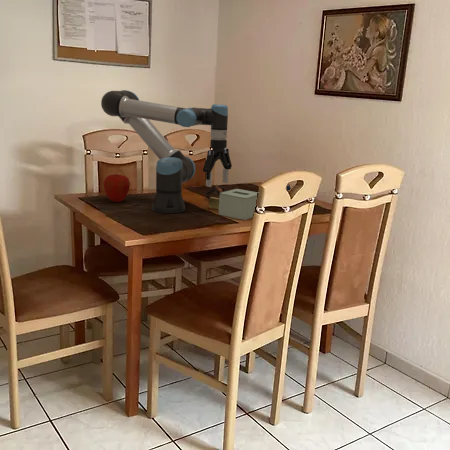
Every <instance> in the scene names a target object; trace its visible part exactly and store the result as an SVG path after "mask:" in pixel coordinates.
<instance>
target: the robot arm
mask: <svg viewBox="0 0 450 450" xmlns="http://www.w3.org/2000/svg"><path fill="white" fill-rule="evenodd" d="M100 103H101V104H100V105H101V109H102V110H103V112H104V113H105V114H106V115H108V116H110V117H118V118H119V119H120V120H121V122H123V123H124V124H126V125H129V126H130V127H131V128H132V129H133V130H134V131H135V133H136V134H137V135H138V137H140V139H141V140H142V141H143V142H144V143H145V144H146V146H147V147H148V148H149V149H150V150H151V151H152V152H153V153H154V155H155V156H156V157H157V158H158V160H157V162H156V165H155V166H156V167H155V171H156V172H155V195H154V198H153V202H152V204H151V210H152V211H154V212H156V213H159V214H179V213H182V212H185V210H186V205H185V202H184V197H183V194H182V192H183V191H182V189H183V188H182V184H184V183H186V182H188V181H190V180H191V179H192V178H193V177H194V175H195V173H196V165H195V162H194V160H192V158H190V157H189V156H185V155H184V153H182V151H181V150H179V149H175V148H174V147H173V146H172V145H171V143H170V142H169V141H168V140H167V138H166V137H165V136H163V134H162V133H161V132H160V131H159V129H158V128H157V127H156V126H155V125H154V124H153V122H152V121H156V122H162V123H168V124H174V125H178V126H181V127H183V128H191V127H194V126H210V142H209V143H210V144H209V145H210V148H211V150H207V154H206V155H207V156H206V158H205V161H204V166H203V168H202V172H203V173H205V187H206V188H207V187H209V188H213V187H212V186H213V185H212V183H213V173H212V170H213V169H214V166H215V165H216V162H217V161H218V160H220V162H221V164H222V166H223V168H222V183H225V184H229V173H230V172H229V170H231V169H232V165H233V164H232V161H231V158H230V153H229V152H230V151H229V148H227V145H228V144H227V143H228V142H227V141H228V140H227V139H228V123H229V122H228V121H229V109H228V106H227V104H216V103H215V104H212V105H211V108H202V107H187V108H184V107H179V106H174V105H168V104H161V103H157V102H156V103H155V102H149V101H144V100H140V99H139V97H138V95H137V94H136V93H134V92H133V91H130V90H126V89H123V90H110V91H107V92H106V93H104V94H103V96H102V97H101V101H100Z"/></svg>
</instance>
